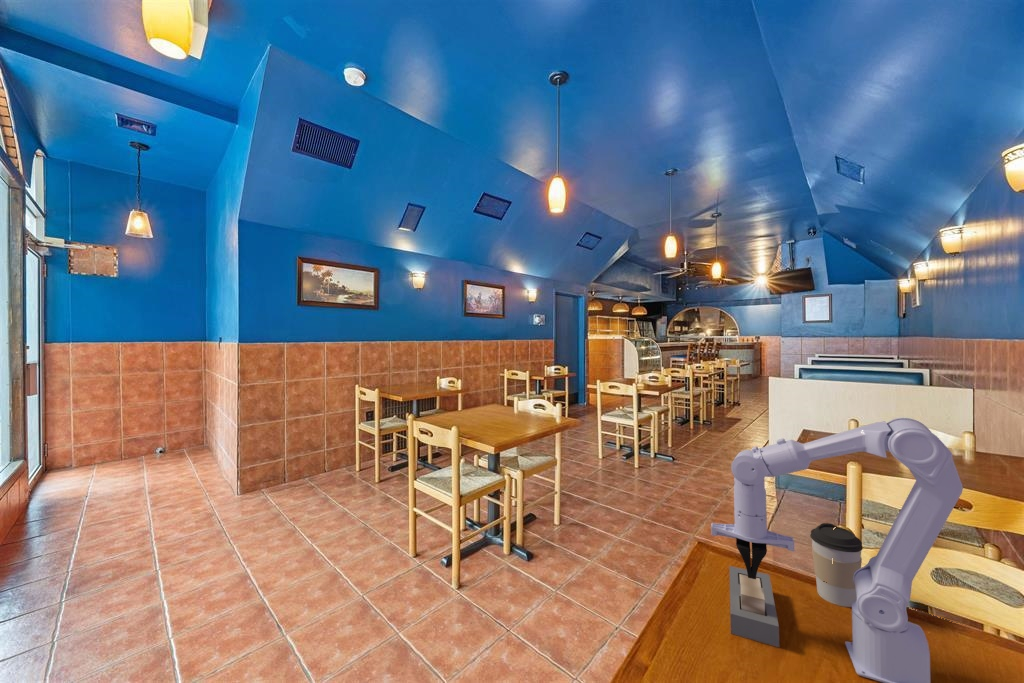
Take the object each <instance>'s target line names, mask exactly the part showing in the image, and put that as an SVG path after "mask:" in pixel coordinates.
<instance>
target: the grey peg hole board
mask: <svg viewBox="0 0 1024 683" xmlns="http://www.w3.org/2000/svg"><path fill="white" fill-rule="evenodd" d="M739 574H741V575H746V576H748V573H747V569H746V568H742V567H741V568H740V567H736V566H732V565H729V605H730V606H729V607H730V608H729V609H730V610H729V611H730V613H729V614H730V634H732V635H733V636H738V637H742V638H744V639H749V640H752V641H756V642H759V643H762V644H765V645H770V646H773V647H776V648H780V626H779V621H778V620H779V619H778V614H777V610H776V604H775V599H774V594H773V587H772V583H771V577H770V574H767V573H764V572H759V571H757V574H756V578H759V579H760V583H761V588H763V591H764V598H765V616H764V615H760V614H756V613H752V612H749V611H745V610H742V609H741V584H740V579H739Z"/></svg>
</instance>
